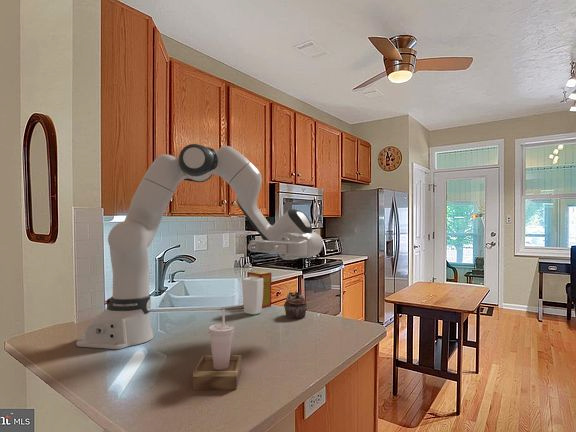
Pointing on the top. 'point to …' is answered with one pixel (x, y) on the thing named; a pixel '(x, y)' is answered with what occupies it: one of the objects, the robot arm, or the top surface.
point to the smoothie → (221, 343)
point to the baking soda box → (264, 286)
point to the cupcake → (295, 306)
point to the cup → (252, 295)
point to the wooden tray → (216, 374)
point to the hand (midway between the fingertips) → (260, 248)
